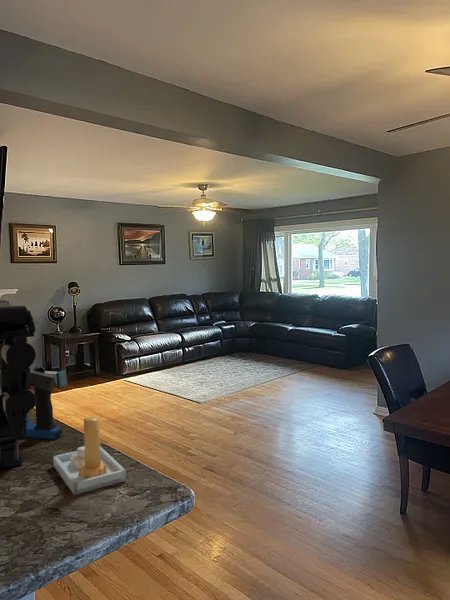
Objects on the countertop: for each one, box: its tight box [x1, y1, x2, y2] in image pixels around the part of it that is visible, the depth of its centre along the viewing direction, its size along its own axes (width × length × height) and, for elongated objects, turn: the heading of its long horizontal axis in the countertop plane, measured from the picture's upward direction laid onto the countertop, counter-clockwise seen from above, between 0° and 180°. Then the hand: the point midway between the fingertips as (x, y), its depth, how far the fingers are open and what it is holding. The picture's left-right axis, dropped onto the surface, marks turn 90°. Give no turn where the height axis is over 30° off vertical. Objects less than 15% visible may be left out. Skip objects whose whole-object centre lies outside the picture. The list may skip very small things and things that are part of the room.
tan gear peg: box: [79, 416, 107, 479], centre depth 108 cm, size 6×6×13 cm
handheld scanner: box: [26, 369, 68, 440], centre depth 136 cm, size 5×16×20 cm, turn 79°
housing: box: [52, 445, 127, 496], centre depth 111 cm, size 18×12×5 cm, turn 34°
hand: (15, 429), depth 104 cm, fingers open, 9 cm apart
